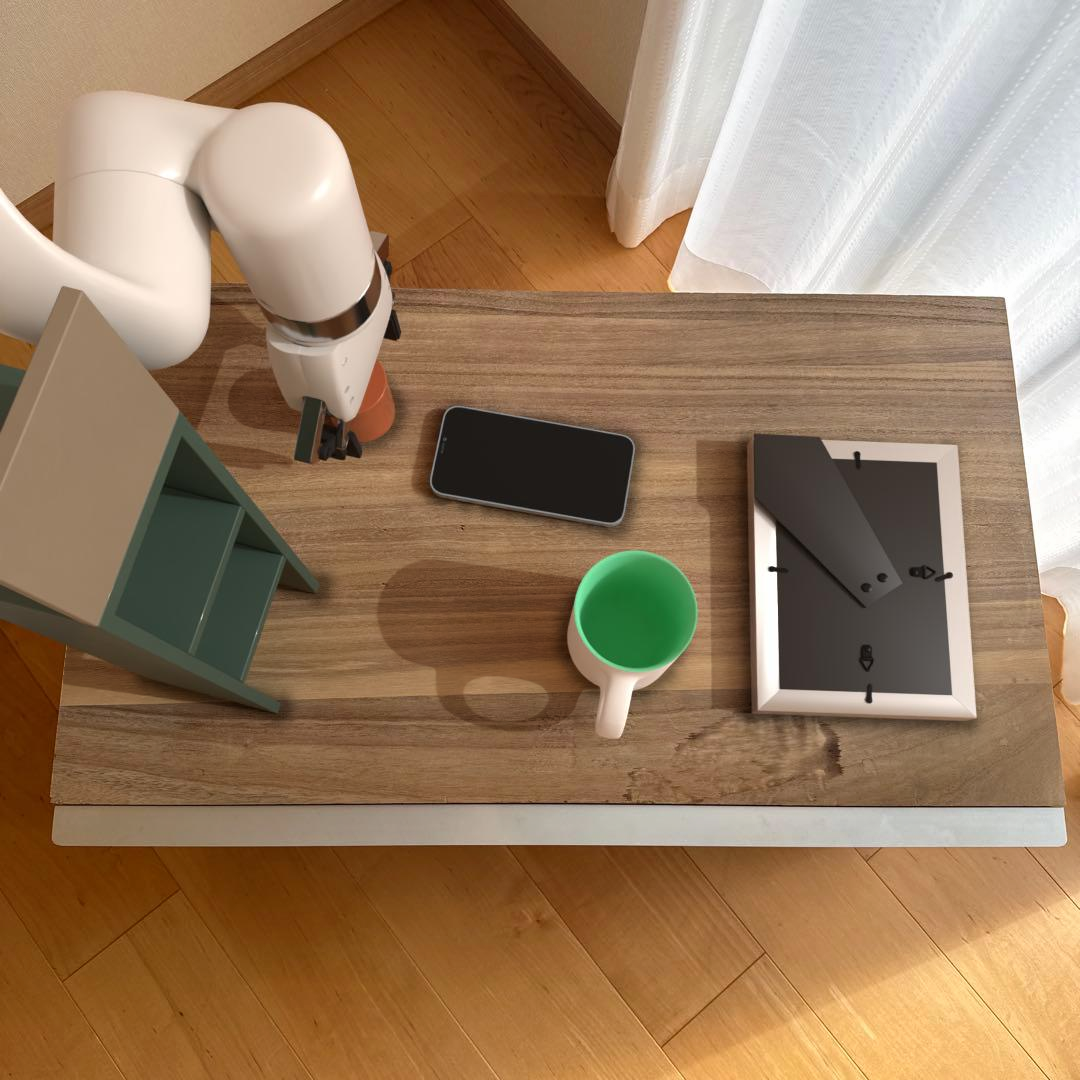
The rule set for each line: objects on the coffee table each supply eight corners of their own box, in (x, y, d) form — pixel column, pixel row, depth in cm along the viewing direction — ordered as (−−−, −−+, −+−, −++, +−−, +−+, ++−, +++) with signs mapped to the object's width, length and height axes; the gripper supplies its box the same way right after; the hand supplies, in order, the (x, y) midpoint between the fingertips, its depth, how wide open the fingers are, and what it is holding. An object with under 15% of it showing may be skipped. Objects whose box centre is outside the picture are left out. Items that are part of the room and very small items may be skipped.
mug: (662, 753, 79) (684, 742, 69) (552, 737, 79) (557, 723, 69) (680, 592, 82) (703, 559, 72) (575, 577, 82) (582, 542, 72)
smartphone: (622, 527, 82) (427, 492, 82) (621, 530, 83) (427, 496, 83) (637, 436, 84) (446, 402, 84) (635, 440, 85) (446, 407, 85)
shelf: (147, 678, 79) (-324, 486, 35) (193, 550, 82) (-191, 219, 38) (277, 713, 79) (-31, 565, 35) (320, 584, 82) (83, 289, 37)
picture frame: (746, 446, 85) (751, 713, 80) (754, 433, 82) (759, 709, 77) (947, 453, 85) (965, 721, 80) (961, 441, 82) (981, 717, 77)
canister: (322, 433, 85) (308, 404, 79) (342, 375, 86) (329, 342, 80) (384, 449, 84) (374, 421, 79) (403, 391, 86) (394, 359, 80)
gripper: (301, 141, 67) (348, 277, 83) (207, 394, 63) (276, 485, 79) (418, 168, 66) (442, 300, 83) (332, 426, 62) (375, 510, 79)
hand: (361, 390), depth 81 cm, fingers open, 9 cm apart
